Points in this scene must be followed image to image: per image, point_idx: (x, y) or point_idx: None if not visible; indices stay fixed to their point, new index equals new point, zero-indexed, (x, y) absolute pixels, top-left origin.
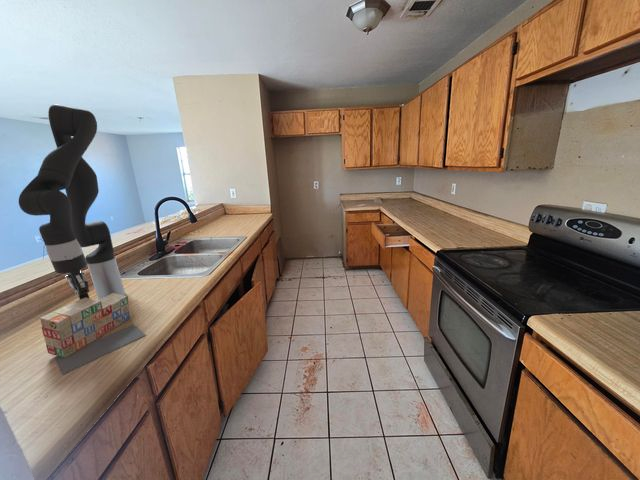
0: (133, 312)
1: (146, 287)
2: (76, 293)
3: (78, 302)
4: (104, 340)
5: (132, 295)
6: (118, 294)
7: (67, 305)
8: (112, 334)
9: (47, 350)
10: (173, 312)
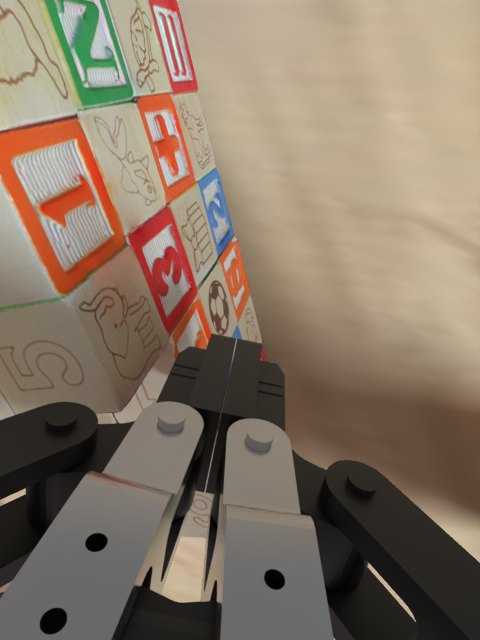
0: None
1: None
2: (271, 427)
3: (18, 304)
4: None
5: (462, 535)
6: (184, 534)
7: (4, 180)
8: None
9: None
10: (22, 489)
